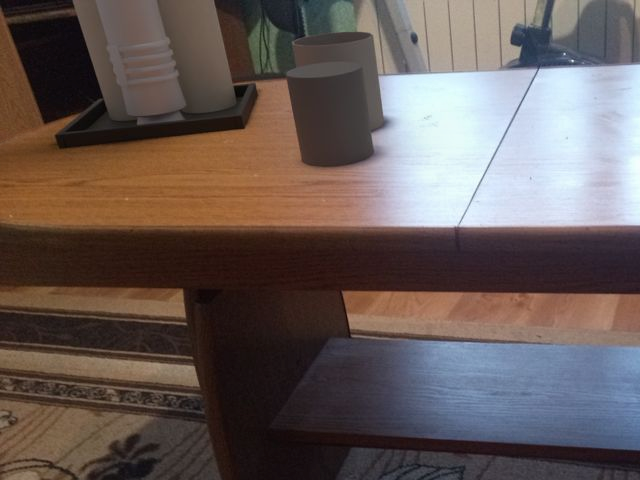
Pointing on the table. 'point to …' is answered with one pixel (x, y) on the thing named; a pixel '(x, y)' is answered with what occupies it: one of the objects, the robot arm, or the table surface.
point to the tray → (103, 130)
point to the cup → (346, 50)
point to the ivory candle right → (198, 54)
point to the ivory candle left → (101, 59)
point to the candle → (142, 60)
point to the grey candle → (330, 113)
